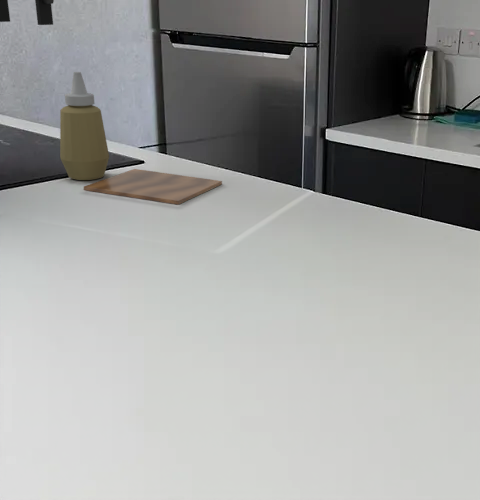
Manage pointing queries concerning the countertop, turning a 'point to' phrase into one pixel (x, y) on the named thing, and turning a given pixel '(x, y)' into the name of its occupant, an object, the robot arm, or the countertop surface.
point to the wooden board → (154, 186)
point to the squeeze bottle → (82, 134)
